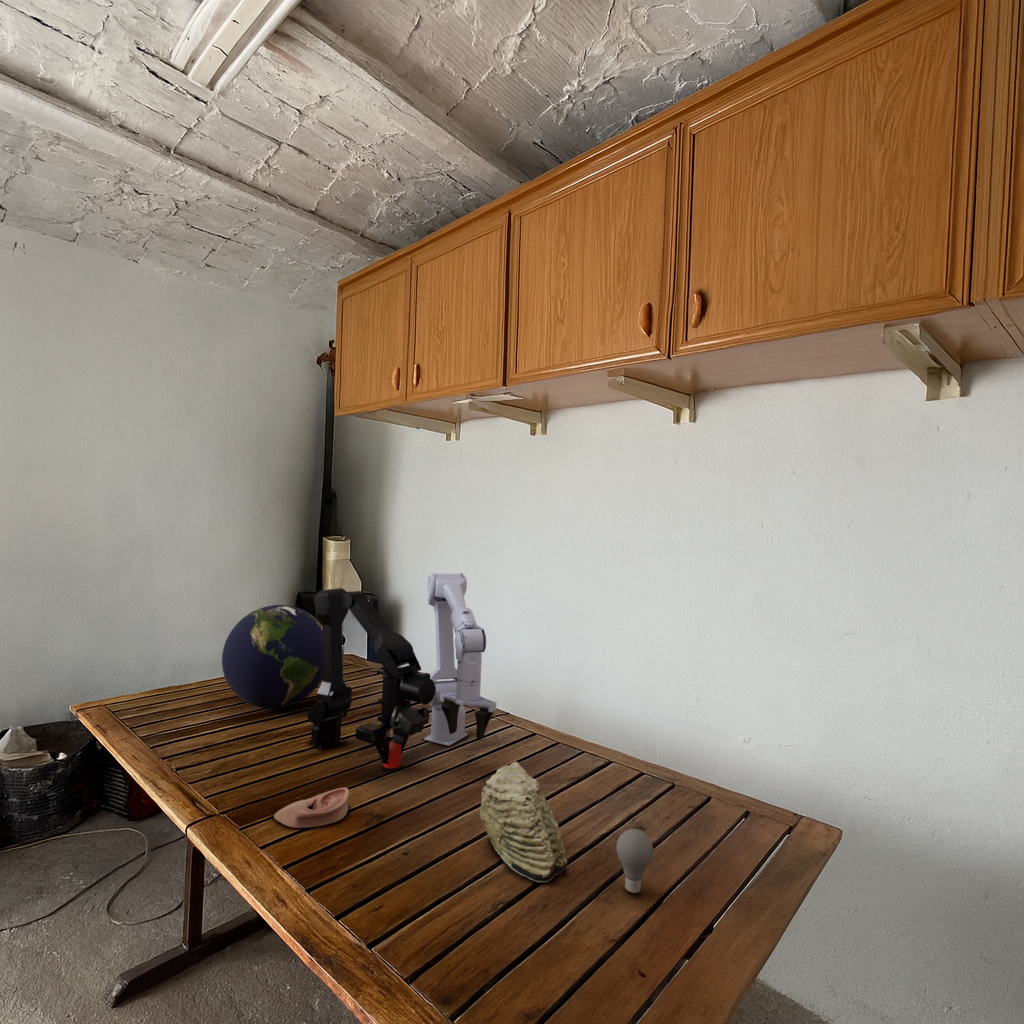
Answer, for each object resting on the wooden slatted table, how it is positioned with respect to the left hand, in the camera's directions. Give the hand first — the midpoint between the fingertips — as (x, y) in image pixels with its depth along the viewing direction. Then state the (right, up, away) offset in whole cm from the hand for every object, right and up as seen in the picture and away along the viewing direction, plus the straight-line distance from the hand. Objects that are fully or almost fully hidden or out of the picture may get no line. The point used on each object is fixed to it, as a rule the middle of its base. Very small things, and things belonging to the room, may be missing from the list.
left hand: (391, 760), depth 149 cm
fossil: (+30, -4, -35) cm, 46 cm away
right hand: (+17, +5, +2) cm, 18 cm away
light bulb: (+48, -5, -44) cm, 65 cm away
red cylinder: (0, -1, 0) cm, 1 cm away
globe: (-42, +1, +39) cm, 57 cm away
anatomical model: (-12, -2, -23) cm, 26 cm away
